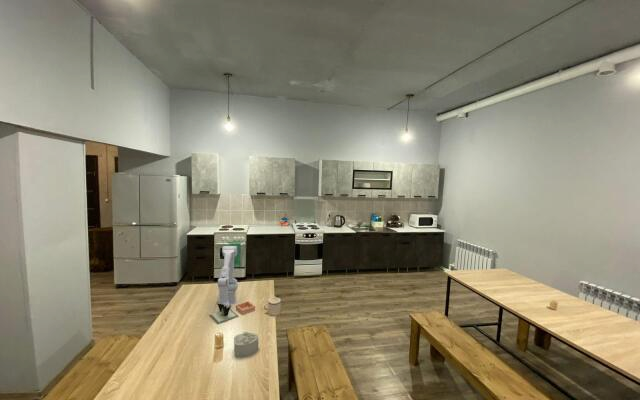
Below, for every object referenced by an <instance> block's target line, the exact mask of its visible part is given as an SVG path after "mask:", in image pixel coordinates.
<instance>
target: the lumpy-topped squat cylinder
mask: <svg viewBox="0 0 640 400" xmlns="http://www.w3.org/2000/svg"><path fill="white" fill-rule="evenodd" d="M233 350H234V357H235V358H245V357H250V356H252V355H254V354H256V353H257V352H258V351H259V336H258V335H257V334H256V333H254V332H253V333H252V332H248V331H244V332H242V333H240V334H235V336H234V337H233Z"/></svg>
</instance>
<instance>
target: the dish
mask: <svg viewBox="0 0 640 400" xmlns="http://www.w3.org/2000/svg"><path fill="white" fill-rule="evenodd" d="M235 310H236V312H238V313H239V314H240V315H242V316H244V315H247V314H250V313H253V312H255V311H256V306H255V304H253V303H252V302H250V301H249V300H246V301H245V302H242V303H241V302H240V303H238V304H236V305H235Z"/></svg>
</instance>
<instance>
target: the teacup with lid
mask: <svg viewBox="0 0 640 400" xmlns="http://www.w3.org/2000/svg"><path fill="white" fill-rule="evenodd" d="M281 303H282V300H281V298H279V297H276V296H273V297H271V298H269V299H268V301H267V303H265V304H263V309H264V310H265V311H268V312H267V313H268V315H270V316H274V314H275V316H278V315H280V314H281V311H282V310H281V306H282V305H281ZM266 306H268V307H267V308H266Z"/></svg>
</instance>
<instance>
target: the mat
mask: <svg viewBox="0 0 640 400" xmlns="http://www.w3.org/2000/svg"><path fill="white" fill-rule="evenodd" d="M230 310H231V311H232V312H233V313H234V314H235V315H236V317H233V318H231V319H228V320H225V321H222V322H220V323H219V322H218V321H217V320H216V319H215V318H214V317H213V316H212V314H213V313H211V314H208V317H210V319H211V320H212V321H213V322H214V323H215V324H216V325H221V324H223V323H225V322H229V321H231V320H234V319H236V318H240V316H239V315H238V314H237V313H235V311H234V310H232V309H231V308H230Z"/></svg>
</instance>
